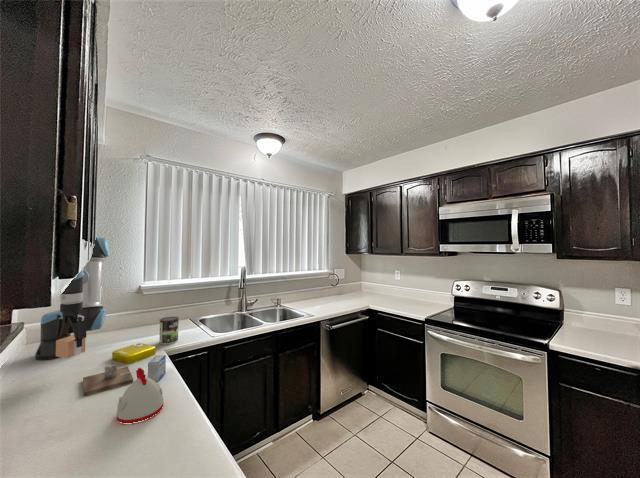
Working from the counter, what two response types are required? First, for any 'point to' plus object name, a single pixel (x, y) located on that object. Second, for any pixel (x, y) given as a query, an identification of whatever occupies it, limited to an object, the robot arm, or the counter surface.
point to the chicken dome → (140, 400)
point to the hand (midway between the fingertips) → (70, 353)
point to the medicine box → (157, 367)
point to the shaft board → (107, 379)
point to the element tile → (133, 353)
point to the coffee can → (168, 330)
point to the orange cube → (67, 347)
